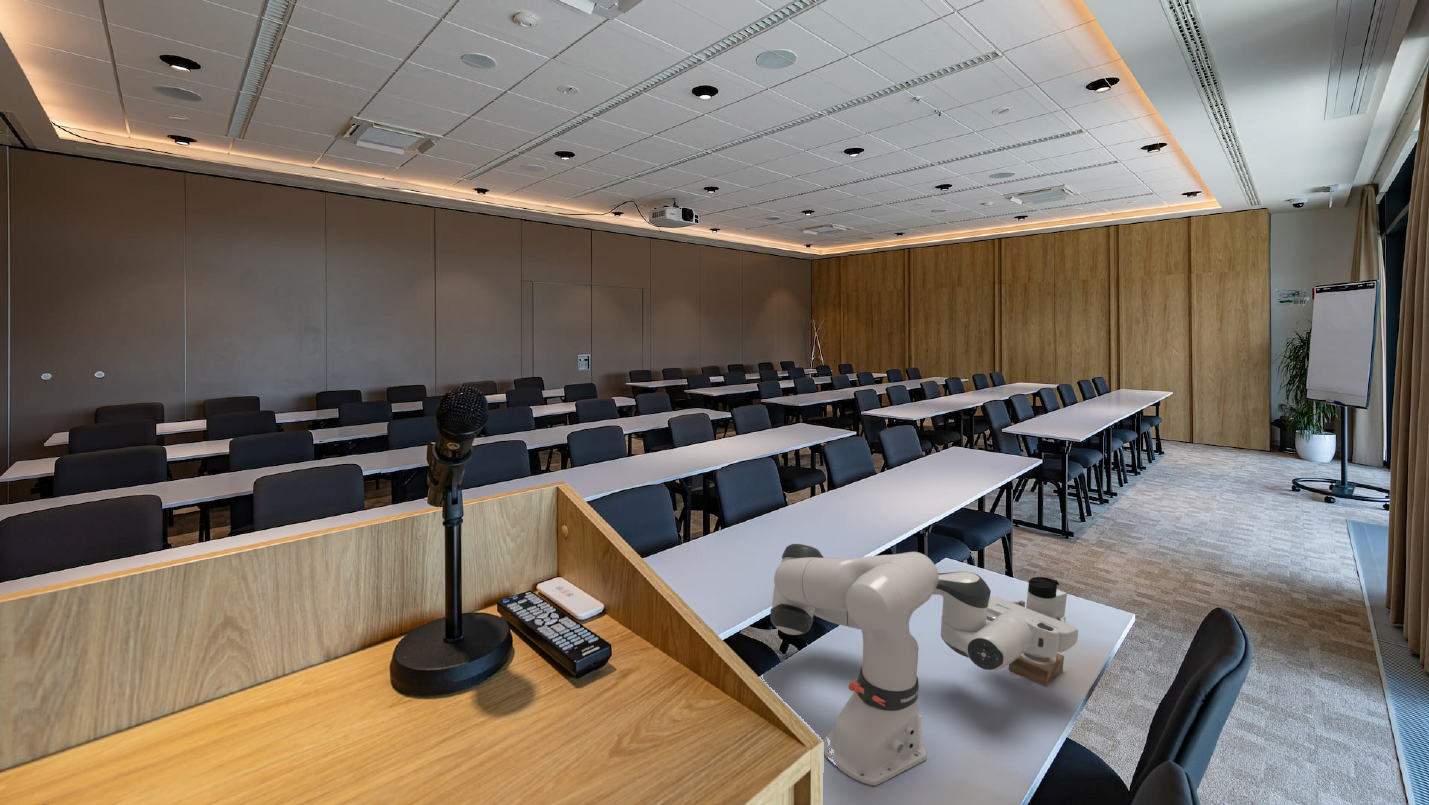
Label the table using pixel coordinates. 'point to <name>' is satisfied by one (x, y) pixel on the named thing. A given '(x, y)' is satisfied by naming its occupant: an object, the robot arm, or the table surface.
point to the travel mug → (1041, 602)
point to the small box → (1060, 603)
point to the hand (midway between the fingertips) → (1041, 611)
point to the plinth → (1038, 668)
